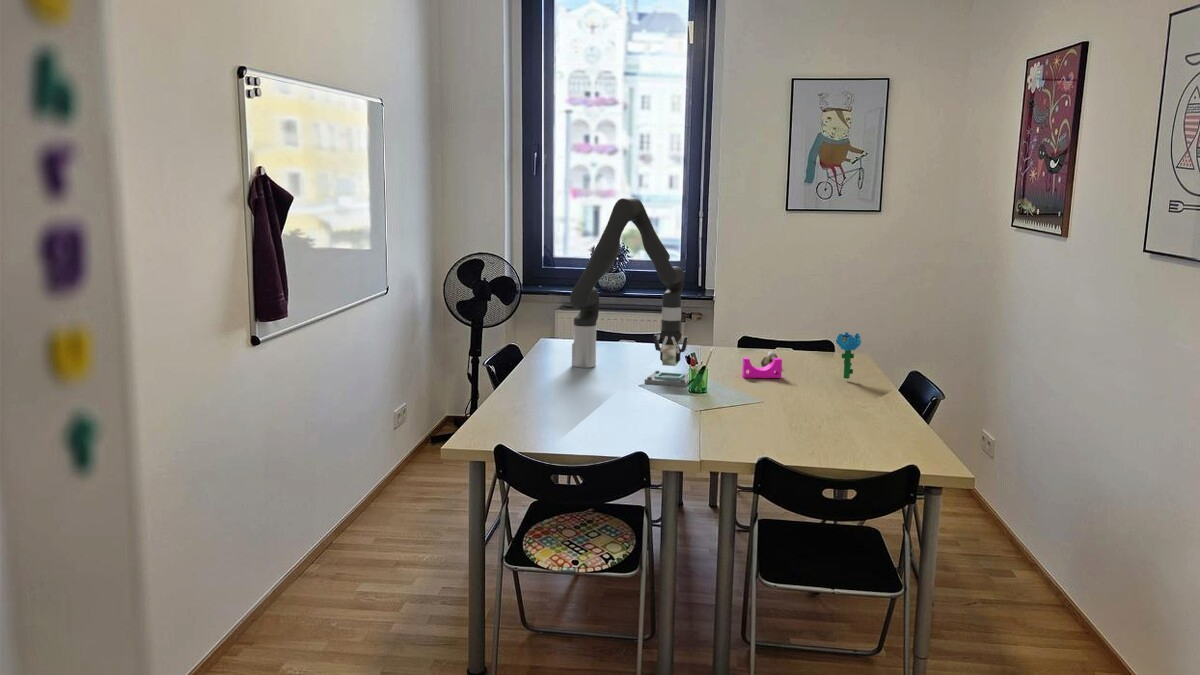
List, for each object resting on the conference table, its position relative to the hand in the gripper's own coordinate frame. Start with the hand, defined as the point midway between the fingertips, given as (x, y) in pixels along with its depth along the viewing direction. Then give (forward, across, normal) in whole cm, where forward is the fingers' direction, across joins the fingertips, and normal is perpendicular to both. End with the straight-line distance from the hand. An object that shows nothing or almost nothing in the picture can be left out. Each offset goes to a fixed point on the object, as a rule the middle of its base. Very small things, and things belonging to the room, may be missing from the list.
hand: (670, 361), depth 349 cm
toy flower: (+8, +65, +31) cm, 73 cm away
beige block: (+1, 0, 0) cm, 1 cm away
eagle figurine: (+5, +34, +50) cm, 60 cm away
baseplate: (+8, 0, 0) cm, 8 cm away
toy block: (+8, +32, +24) cm, 41 cm away
